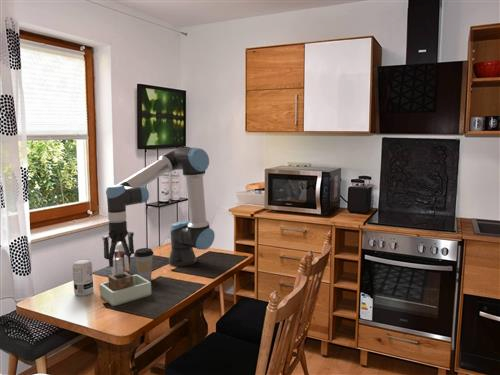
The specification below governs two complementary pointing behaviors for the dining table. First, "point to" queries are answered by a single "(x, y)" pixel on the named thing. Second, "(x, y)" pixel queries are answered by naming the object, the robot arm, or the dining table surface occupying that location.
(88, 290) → the supplement can
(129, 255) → the robot arm
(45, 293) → the dining table surface
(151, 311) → the dining table surface
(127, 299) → the crate
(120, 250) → the smoothie
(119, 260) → the steel peg
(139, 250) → the coffee cup
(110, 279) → the socket block
